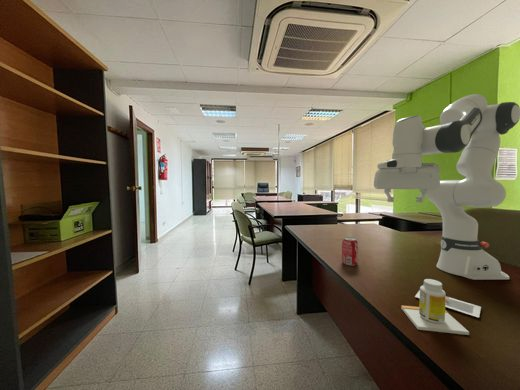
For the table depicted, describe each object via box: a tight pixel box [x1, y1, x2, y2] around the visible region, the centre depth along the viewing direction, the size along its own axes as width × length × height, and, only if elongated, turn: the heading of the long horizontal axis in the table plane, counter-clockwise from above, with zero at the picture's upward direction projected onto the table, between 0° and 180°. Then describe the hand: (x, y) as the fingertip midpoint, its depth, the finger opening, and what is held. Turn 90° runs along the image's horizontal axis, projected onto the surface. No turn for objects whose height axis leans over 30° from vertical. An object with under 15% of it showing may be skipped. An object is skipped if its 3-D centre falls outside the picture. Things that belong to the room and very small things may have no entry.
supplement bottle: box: [418, 278, 446, 323], centre depth 60 cm, size 6×6×10 cm
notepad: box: [400, 305, 470, 336], centre depth 60 cm, size 12×10×1 cm
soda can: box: [341, 236, 359, 267], centre depth 102 cm, size 7×7×12 cm
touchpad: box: [414, 289, 482, 318], centre depth 69 cm, size 8×15×2 cm, turn 42°
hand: (404, 202), depth 78 cm, fingers open, 8 cm apart
